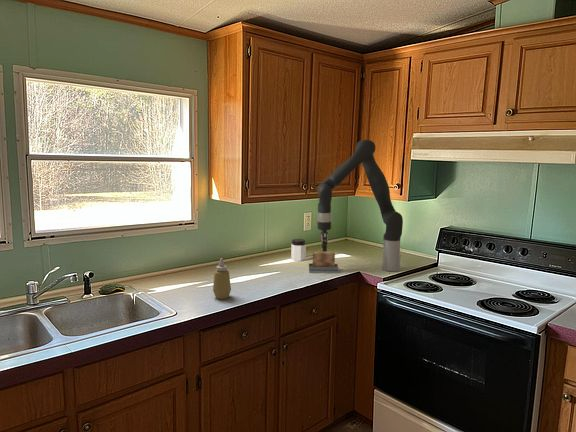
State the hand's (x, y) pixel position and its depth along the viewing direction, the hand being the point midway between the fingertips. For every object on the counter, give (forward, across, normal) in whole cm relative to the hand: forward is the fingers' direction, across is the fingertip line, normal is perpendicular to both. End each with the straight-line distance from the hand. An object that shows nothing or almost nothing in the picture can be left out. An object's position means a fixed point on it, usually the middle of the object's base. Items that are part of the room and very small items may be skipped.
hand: (324, 249), depth 234 cm
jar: (+12, +25, +14) cm, 31 cm away
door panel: (+11, 0, 0) cm, 11 cm away
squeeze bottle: (+11, -46, +48) cm, 68 cm away
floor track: (+12, 0, 0) cm, 12 cm away
